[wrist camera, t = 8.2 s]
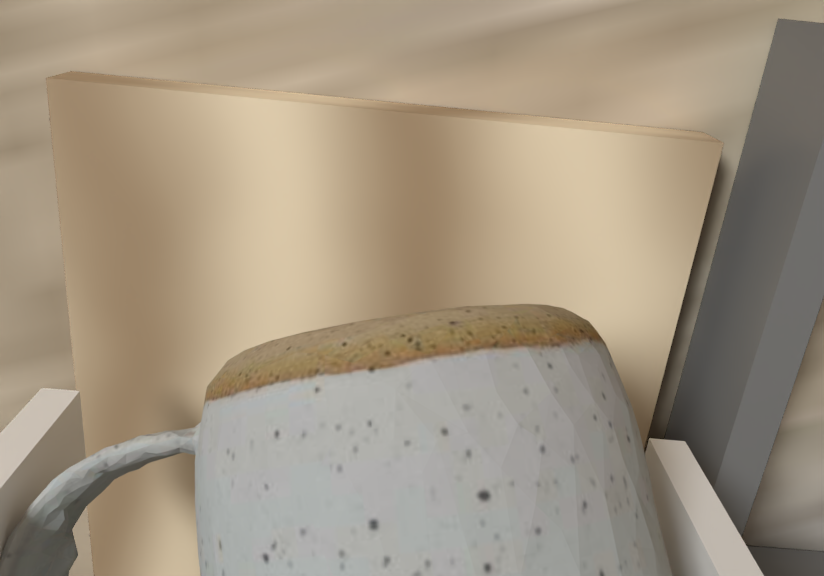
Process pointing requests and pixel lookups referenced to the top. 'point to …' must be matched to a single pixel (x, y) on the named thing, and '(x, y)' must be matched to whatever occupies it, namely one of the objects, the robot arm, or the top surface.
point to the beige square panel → (334, 248)
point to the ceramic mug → (398, 456)
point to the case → (761, 290)
